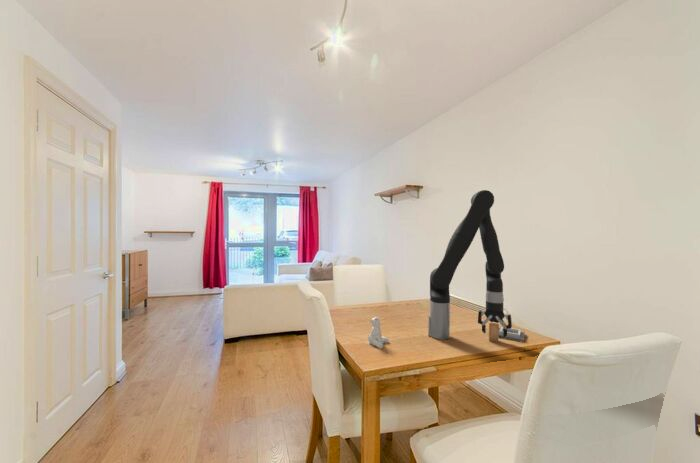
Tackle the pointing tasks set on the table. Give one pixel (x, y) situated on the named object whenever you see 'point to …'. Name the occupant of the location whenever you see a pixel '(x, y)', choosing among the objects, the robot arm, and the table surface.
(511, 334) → the housing
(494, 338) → the brown peg
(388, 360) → the table surface
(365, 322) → the table surface
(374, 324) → the white creature statuette
